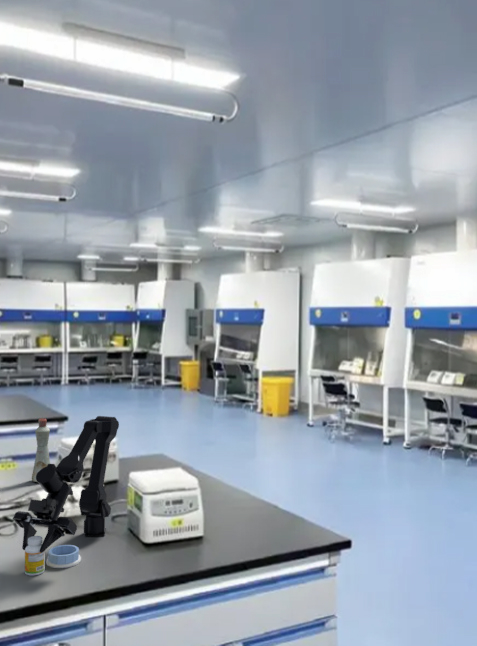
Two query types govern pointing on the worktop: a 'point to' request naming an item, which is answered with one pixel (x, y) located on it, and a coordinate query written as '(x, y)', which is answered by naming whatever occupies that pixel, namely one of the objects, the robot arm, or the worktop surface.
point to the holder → (63, 556)
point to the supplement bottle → (34, 556)
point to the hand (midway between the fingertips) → (32, 550)
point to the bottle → (41, 448)
